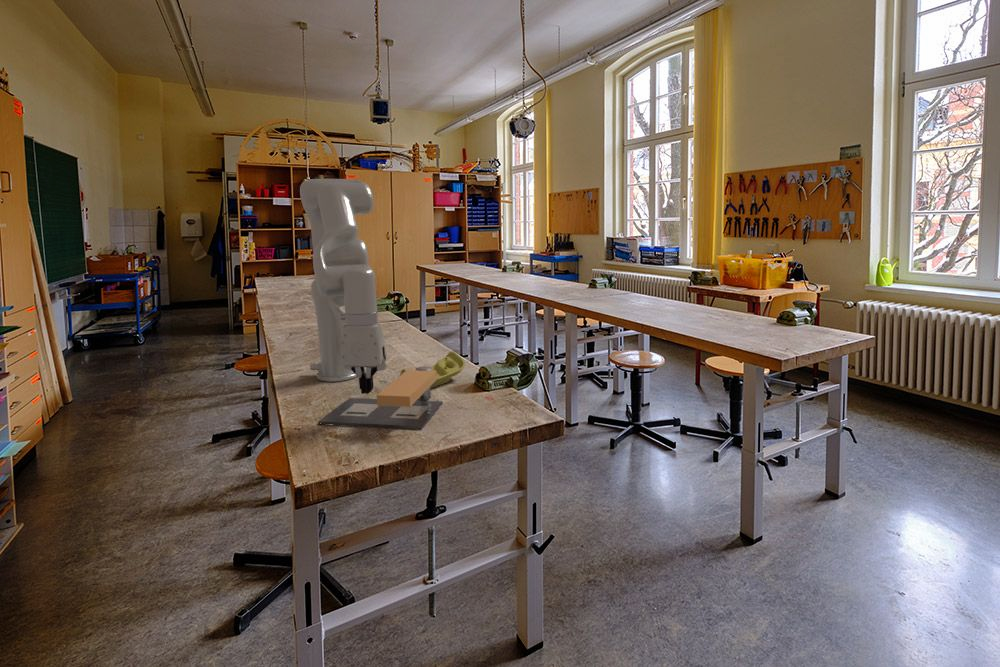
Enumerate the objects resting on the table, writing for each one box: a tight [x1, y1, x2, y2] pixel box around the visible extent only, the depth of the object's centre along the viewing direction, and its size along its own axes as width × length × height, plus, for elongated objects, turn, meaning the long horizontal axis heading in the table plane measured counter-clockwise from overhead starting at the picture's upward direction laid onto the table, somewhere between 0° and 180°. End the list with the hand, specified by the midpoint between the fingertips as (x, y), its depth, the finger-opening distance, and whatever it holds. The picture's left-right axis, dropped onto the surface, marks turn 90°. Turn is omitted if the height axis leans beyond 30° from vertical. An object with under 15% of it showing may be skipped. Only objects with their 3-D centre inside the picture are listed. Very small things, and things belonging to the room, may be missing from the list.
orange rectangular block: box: [376, 366, 437, 407], centre depth 144 cm, size 8×26×2 cm, turn 170°
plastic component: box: [399, 351, 466, 389], centre depth 171 cm, size 20×7×10 cm
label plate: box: [317, 387, 443, 430], centre depth 146 cm, size 26×24×6 cm
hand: (366, 392), depth 142 cm, fingers closed
